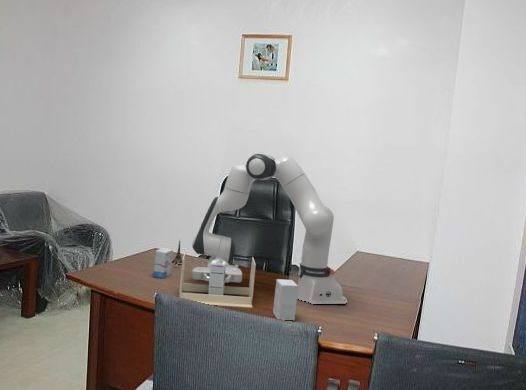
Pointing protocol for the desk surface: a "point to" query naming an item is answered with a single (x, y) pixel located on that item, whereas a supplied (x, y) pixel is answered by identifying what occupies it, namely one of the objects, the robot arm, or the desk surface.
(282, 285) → the small box
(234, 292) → the wooden rack
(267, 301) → the desk surface
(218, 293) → the syrup box
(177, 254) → the eiffel tower figurine
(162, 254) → the ink box
